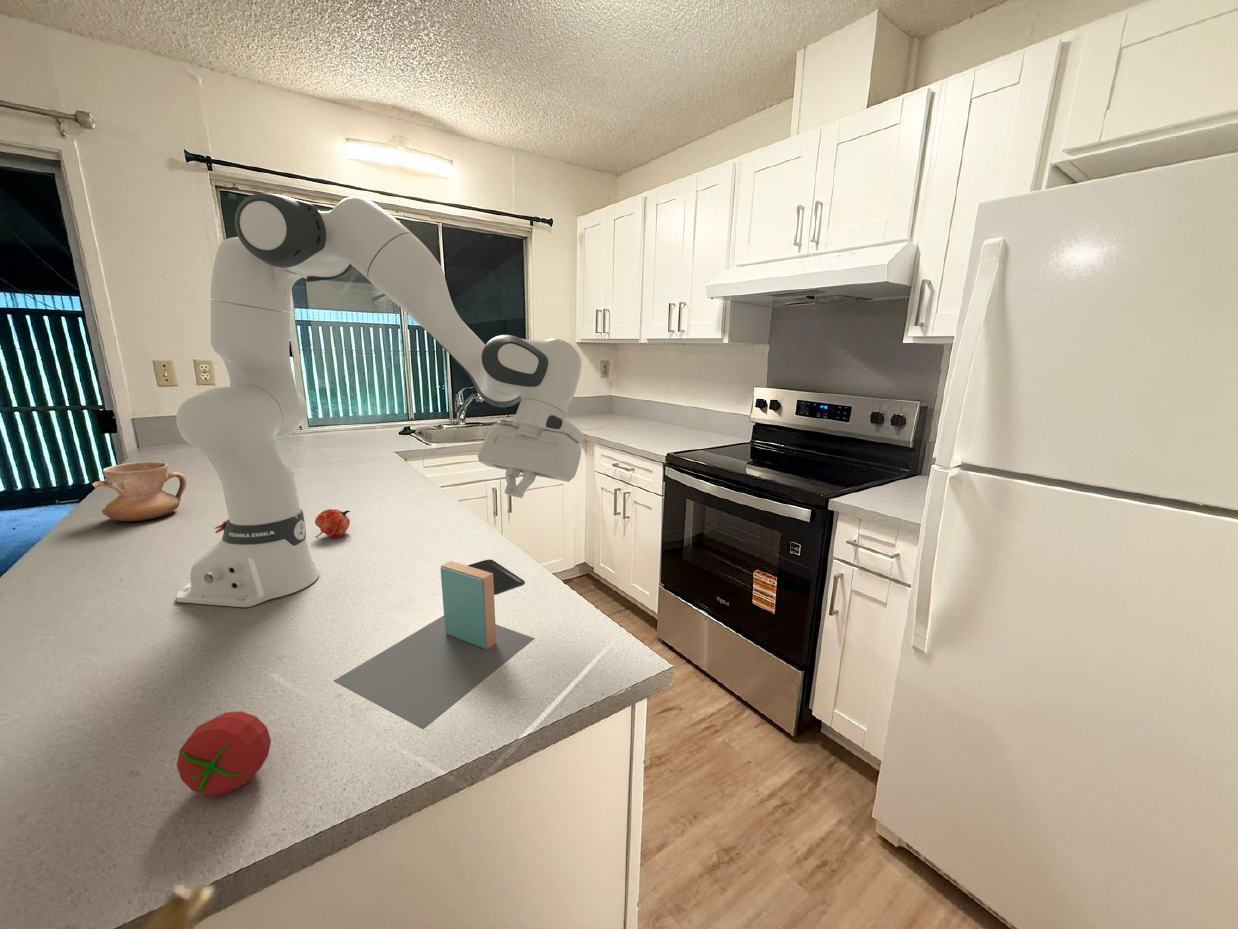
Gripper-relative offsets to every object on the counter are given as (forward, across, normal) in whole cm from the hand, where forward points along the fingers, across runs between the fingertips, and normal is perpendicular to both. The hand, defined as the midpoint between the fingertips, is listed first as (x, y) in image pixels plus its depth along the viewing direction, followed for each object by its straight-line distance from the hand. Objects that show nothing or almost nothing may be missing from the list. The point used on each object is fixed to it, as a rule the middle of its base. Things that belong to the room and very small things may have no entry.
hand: (513, 495), depth 85 cm
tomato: (+42, -1, -27) cm, 50 cm away
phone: (+16, -11, +16) cm, 25 cm away
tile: (+24, +2, 0) cm, 24 cm away
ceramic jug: (+28, -116, -2) cm, 120 cm away
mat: (+28, +2, -5) cm, 28 cm away
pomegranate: (+18, -60, +13) cm, 64 cm away
